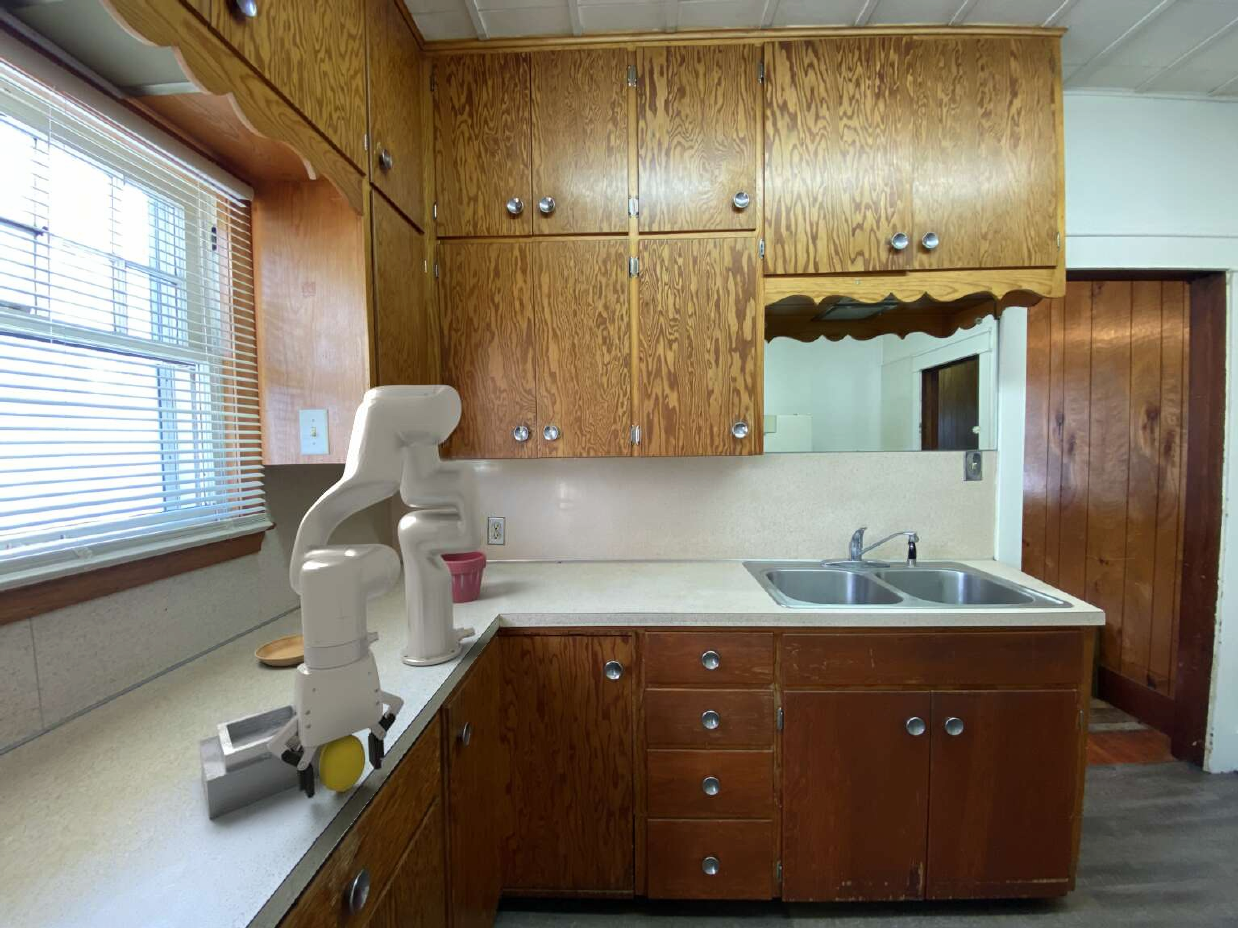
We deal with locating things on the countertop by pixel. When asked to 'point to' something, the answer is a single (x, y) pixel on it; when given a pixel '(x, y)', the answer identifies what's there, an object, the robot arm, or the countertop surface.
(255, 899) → the countertop surface
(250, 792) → the housing
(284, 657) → the plant saucer
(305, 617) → the robot arm
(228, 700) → the countertop surface
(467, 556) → the plant pot
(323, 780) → the lemon
